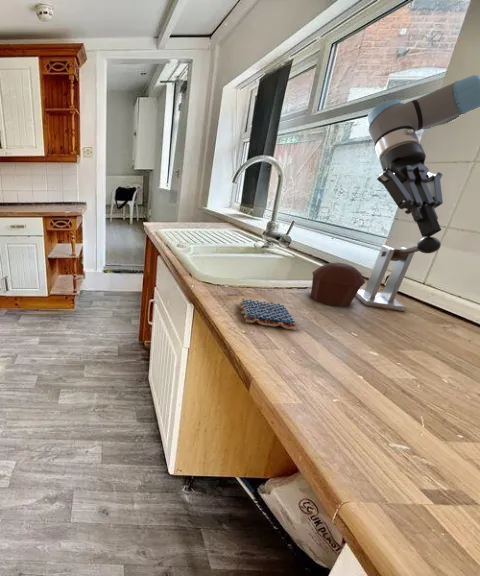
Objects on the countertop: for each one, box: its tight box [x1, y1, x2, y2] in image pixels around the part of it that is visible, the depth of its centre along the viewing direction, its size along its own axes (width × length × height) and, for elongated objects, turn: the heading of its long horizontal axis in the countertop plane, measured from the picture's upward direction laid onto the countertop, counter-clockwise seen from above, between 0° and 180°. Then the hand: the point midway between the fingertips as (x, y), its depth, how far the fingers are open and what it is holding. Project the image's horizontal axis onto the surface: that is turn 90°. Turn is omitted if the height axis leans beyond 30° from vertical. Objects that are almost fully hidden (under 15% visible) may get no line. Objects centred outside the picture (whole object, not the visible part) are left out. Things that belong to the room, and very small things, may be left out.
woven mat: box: [238, 298, 297, 331], centre depth 71 cm, size 10×11×2 cm
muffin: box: [310, 262, 367, 308], centre depth 81 cm, size 12×11×10 cm
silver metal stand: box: [355, 244, 416, 312], centre depth 81 cm, size 10×8×15 cm
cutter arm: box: [390, 236, 442, 262], centre depth 73 cm, size 15×4×4 cm, turn 159°
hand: (431, 233), depth 67 cm, fingers closed
